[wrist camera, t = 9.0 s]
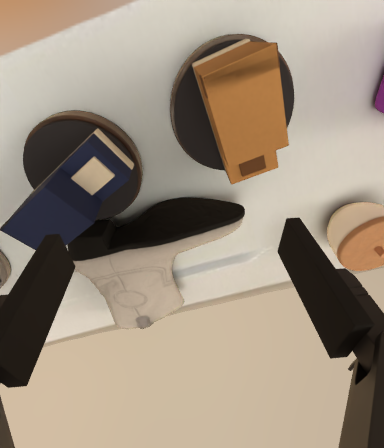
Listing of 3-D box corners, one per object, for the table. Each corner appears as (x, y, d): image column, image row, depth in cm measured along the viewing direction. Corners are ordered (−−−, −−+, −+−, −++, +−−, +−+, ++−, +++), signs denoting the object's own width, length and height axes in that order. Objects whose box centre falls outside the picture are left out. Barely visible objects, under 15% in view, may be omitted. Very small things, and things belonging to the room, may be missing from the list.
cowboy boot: (38, 250, 31) (106, 339, 47) (253, 230, 29) (248, 331, 44) (68, 208, 38) (118, 297, 54) (240, 189, 36) (240, 288, 52)
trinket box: (389, 212, 42) (435, 249, 35) (334, 247, 47) (365, 287, 39) (362, 178, 37) (409, 213, 30) (304, 222, 42) (333, 261, 35)
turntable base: (78, 221, 38) (74, 229, 37) (3, 138, 30) (-6, 143, 28) (159, 190, 36) (159, 197, 34) (105, 90, 27) (101, 93, 26)
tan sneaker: (153, 74, 25) (147, 89, 18) (283, 12, 22) (336, 2, 15) (197, 182, 33) (205, 221, 26) (296, 144, 31) (334, 177, 24)
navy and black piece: (93, 231, 37) (76, 277, 30) (3, 168, 30) (-49, 209, 23) (159, 180, 32) (156, 221, 25) (71, 91, 25) (34, 113, 18)
